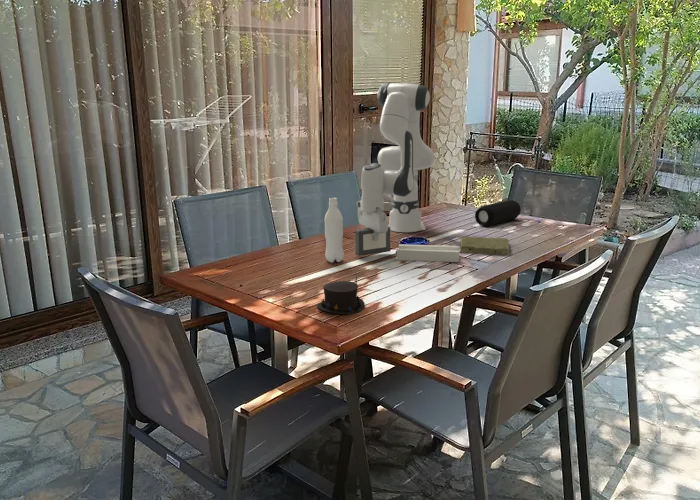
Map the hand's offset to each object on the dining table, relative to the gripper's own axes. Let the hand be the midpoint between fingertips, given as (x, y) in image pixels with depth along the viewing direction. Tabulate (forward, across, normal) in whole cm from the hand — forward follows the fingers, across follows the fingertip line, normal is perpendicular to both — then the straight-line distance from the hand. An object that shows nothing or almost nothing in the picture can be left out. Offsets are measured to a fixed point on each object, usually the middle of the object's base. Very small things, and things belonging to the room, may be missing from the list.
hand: (372, 239), depth 250 cm
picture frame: (+6, 0, 0) cm, 6 cm away
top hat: (+7, -48, +34) cm, 60 cm away
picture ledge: (+7, -13, -18) cm, 23 cm away
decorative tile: (+8, -12, -46) cm, 48 cm away
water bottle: (+7, 0, +17) cm, 18 cm away
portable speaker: (+8, +25, -79) cm, 84 cm away
